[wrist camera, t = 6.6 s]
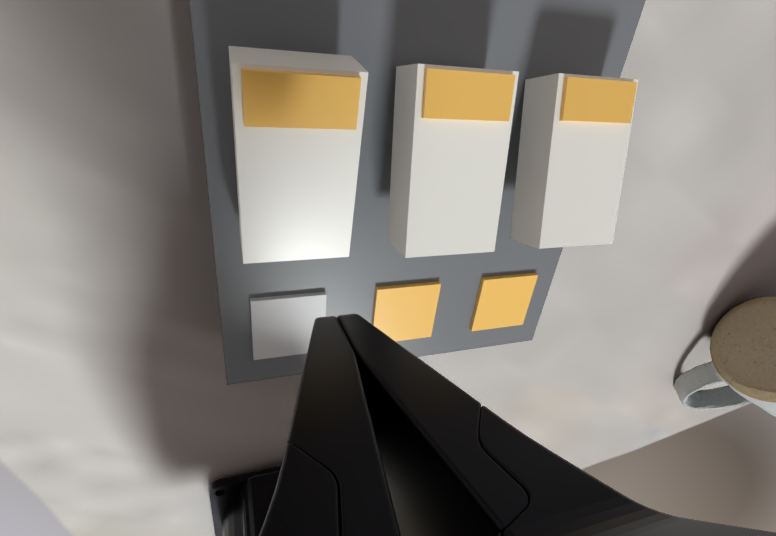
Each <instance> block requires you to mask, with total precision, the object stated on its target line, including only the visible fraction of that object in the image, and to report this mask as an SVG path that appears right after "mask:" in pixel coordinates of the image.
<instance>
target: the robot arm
mask: <svg viewBox="0 0 776 536" xmlns="http://www.w3.org/2000/svg"><path fill="white" fill-rule="evenodd" d="M210 501H211V507H212V514H213V521H214V527H215V534H216V536H776V533H775V532H768V531H762V530H756V529H749V528H743V527H737V526H731V525H724V524H718V523H711V522H706V521H699V520H693V519H687V518H681V517H676V516H672V515H669V514H665V513H661V512H658V511H656V510H653V509H651V508H648V507H646V506H644V505H641V504H639V503H637V502H635V501H633V500H631V499H630V498H628V497H626V496H624V495H622V494H621V493H619V492H618V491H616V490H614V489H613V488H611V487H609V486H608V485H606V484H604V483H603V482H601V481H599V480H598V479H596V478H594V477H593V476H591V475H589V474H588V473H586V472H585V471H583V470H581V469H580V468H578V467H576V466H575V465H573V464H571V463H570V462H568V461H566V460H565V459H563V458H561V457H560V456H558V455H556V454H555V453H553V452H552V451H550V450H548V449H547V448H545V447H544V446H542V445H540V444H539V443H537V442H536V441H534V440H533V439H531V438H529V437H528V436H526V435H525V434H523V433H522V432H520V431H519V430H517V429H516V428H515V427H513V426H512V425H510V424H509V423H507V422H506V421H504V420H503V419H502V418H500V417H499V416H497V415H496V414H495V413H493V412H492V411H491V410H489V409H488V408H486V407H485V406H482V407H481V404H480V403H479V402H478V401H477V400H475V399H474V398H472V397H471V396H470V395H468V394H467V393H466V392H464V391H463V390H461V389H460V388H459V387H457V386H456V385H455V384H453V383H452V382H450V381H449V380H448V379H446V378H445V377H444V376H442V375H441V374H439V373H438V372H437V371H435V370H434V369H433V368H431V367H430V366H429V365H427V364H426V363H424V362H423V361H422V360H420V359H419V358H418V357H416V356H415V355H413V354H412V353H411V352H409V351H408V350H407V349H405V348H404V347H402V346H401V345H400V344H398V343H397V342H396V341H394V340H393V339H391V338H390V337H389V336H387V335H386V334H385V333H383V332H382V331H380V330H379V329H378V328H376V327H375V326H374V325H372V324H371V323H369V322H368V321H367V320H365V319H364V318H363V317H361V316H360V315H358V314H355V313H354V314H345V315H339V316H337V318H336V317H335V316H326V317H318V318H316V319H315V321H314V325H313V330H312V334H311V338H310V343H309V347H308V352H307V356H306V361H305V365H304V369H303V374H302V378H301V383H300V387H299V392H298V396H297V401H296V405H295V409H294V414H293V418H292V423H291V427H290V432H289V436H288V441H287V445H286V448H285V453H284V457H283V462H282V466H281V467H278V468H273V469H269V470H264V471H259V472H254V473H249V474H245V475H240V476H235V477H230V478H226V479H221V480H217V481H215V482H213V483H212V484H211V485H210Z"/></svg>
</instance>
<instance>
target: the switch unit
mask: <svg viewBox="0 0 776 536" xmlns="http://www.w3.org/2000/svg"><path fill="white" fill-rule="evenodd" d="M645 1H646V0H189V3H190V13H191V23H192V33H193V43H194V53H195V64H196V74H197V84H198V94H199V104H200V114H201V125H202V135H203V145H204V155H205V165H206V175H207V186H208V196H209V206H210V216H211V226H212V236H213V247H214V257H215V267H216V277H217V287H218V297H219V307H220V318H221V328H222V338H223V348H224V358H225V368H226V379H227V385H228V384H235V383H242V382H249V381H256V380H262V379H269V378H276V377H283V376H290V375H297V374H303V369H304V365H305V361H306V356H307V352H308V347H309V343H310V338H311V334H312V330H313V325H314V321H315V319H316V318H318V317H326V316H335V317H336V318H337V316H339V315H345V314H354V313H355V314H358V315H360V316H361V317H363V318H364V319H365V320H367V321H368V322H369V323H371V324H372V325H374V326H375V327H376V328H378V329H379V330H380V331H382V332H383V333H385V334H386V335H387V336H389V337H390V338H391V339H393V340H394V341H396V342H397V343H398V344H400V345H401V346H402V347H404V348H405V349H407V350H408V351H409V352H411V353H412V354H413V355H415V356H416V357H420V356H426V355H433V354H440V353H447V352H454V351H460V350H467V349H474V348H481V347H488V346H495V345H501V344H508V343H515V342H522V341H529V340H532V338H533V335H534V332H535V329H536V326H537V323H538V320H539V317H540V314H541V311H542V308H543V305H544V302H545V299H546V296H547V293H548V290H549V287H550V284H551V281H552V278H553V276H554V273H555V270H556V267H557V264H558V261H559V258H560V255H561V252H562V249H563V247H558V248H543V249H538V248H536V247H533V246H530V245H527V244H524V243H522V242H519V241H516V240H513V239H510V238H511V227H512V217H513V206H514V196H515V185H516V174H517V164H518V153H519V143H520V132H521V122H522V111H523V100H524V90H525V79H531V78H536V77H541V76H547V75H552V74H557V73H564V74H576V75H588V76H601V77H613V78H620V75H621V72H622V69H623V66H624V63H625V60H626V57H627V54H628V51H629V48H630V45H631V42H632V39H633V36H634V33H635V30H636V27H637V24H638V21H639V18H640V15H641V12H642V9H643V6H644V4H645ZM228 46H238V47H250V48H262V49H274V50H287V51H299V52H311V53H323V54H336V55H348V56H352V57H353V58H354V59H355V60H356V61H357V62H359V63H360V64H361V65H362V66H363V67H364V68H365V69H366V70H367V71H368V82H367V91H366V100H365V110H364V119H363V129H362V138H361V148H360V157H359V167H358V176H357V186H356V195H355V205H354V214H353V224H352V233H351V242H350V252H349V257H339V258H324V259H309V260H294V261H279V262H263V263H248V264H243V257H242V247H241V238H240V225H239V209H238V193H237V177H236V160H235V144H234V128H233V112H232V96H231V79H230V63H229V47H228ZM410 64H431V65H443V66H456V67H468V68H481V69H493V70H506V71H518V72H519V76H518V83H517V91H516V98H515V105H514V113H513V120H512V127H511V134H510V142H509V149H508V156H507V164H506V171H505V178H504V185H503V193H502V200H501V207H500V215H499V222H498V229H497V237H496V244H495V251H494V252H484V253H470V254H455V255H441V256H427V257H412V258H405V257H404V256H403V255H401V254H400V253H399V252H398V251H397V250H396V249H395V248H394V247H393V246H392V245H390V244H389V243H388V242H387V241H388V221H389V201H390V181H391V161H392V141H393V121H394V101H395V81H396V66H403V65H410Z"/></svg>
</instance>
